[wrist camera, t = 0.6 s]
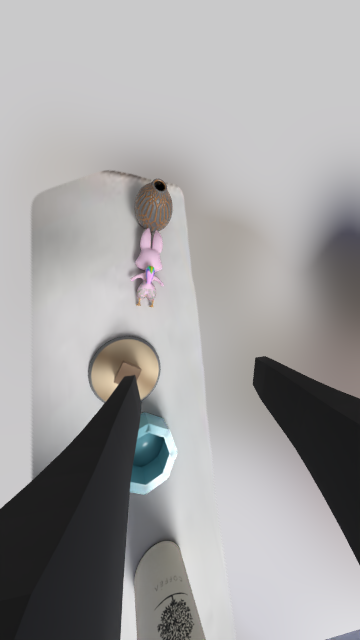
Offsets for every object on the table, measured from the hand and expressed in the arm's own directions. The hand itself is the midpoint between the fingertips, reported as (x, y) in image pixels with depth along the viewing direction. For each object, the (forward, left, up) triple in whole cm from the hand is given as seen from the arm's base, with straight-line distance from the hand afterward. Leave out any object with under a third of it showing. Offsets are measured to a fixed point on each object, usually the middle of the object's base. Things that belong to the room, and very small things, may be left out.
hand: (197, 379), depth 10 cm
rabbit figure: (+15, +6, -23) cm, 28 cm away
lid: (-4, +2, -22) cm, 23 cm away
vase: (+25, +11, -23) cm, 36 cm away
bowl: (-14, -6, -23) cm, 27 cm away
